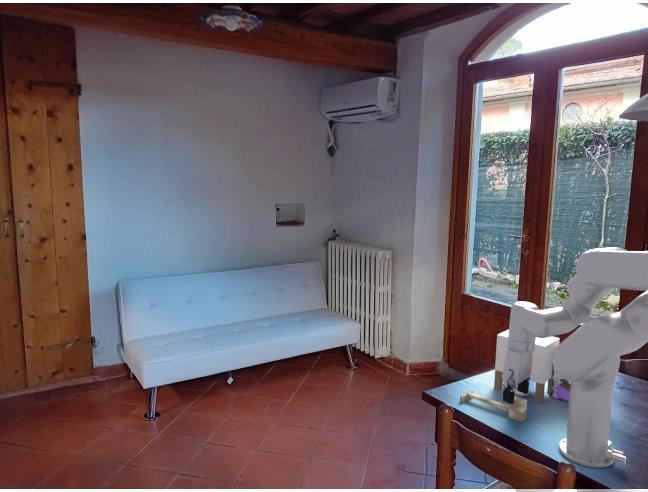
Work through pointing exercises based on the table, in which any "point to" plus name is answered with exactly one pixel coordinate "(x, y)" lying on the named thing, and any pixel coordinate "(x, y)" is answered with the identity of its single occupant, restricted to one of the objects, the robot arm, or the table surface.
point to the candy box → (560, 387)
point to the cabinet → (540, 363)
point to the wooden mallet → (502, 405)
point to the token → (520, 392)
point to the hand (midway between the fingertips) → (515, 397)
